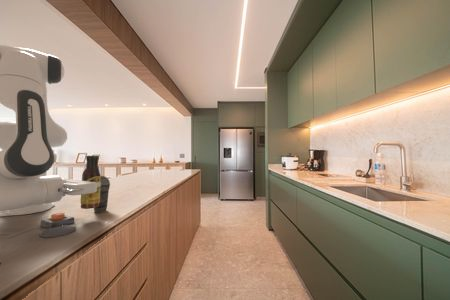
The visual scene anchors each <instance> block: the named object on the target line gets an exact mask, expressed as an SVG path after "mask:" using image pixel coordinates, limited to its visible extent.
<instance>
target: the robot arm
mask: <svg viewBox="0 0 450 300" xmlns="http://www.w3.org/2000/svg"><path fill="white" fill-rule="evenodd" d="M64 68H65V67H64V65H63V64H62V61H61V59H60V58H59V57H57V56H55V55H52V54H46V53H43V52H40V51H37V50H34V49H30V48H24V47H19V46H18V47H17V46H15V45H14V46H13V45H8V44H7V45H6V44H0V104H1V105H2V106H4V107H5V108H7V109H10V110H12V111H14V112H15V121H0V217H9V216H22V215H23V216H24V215H29V214H36V213H41V212H44V211H48V210H49V209H51V208H53V207H56V203H57V202H60V201H61V199H62V198H63V197H65V196H66V195H67V196H81V195H82V194H90V193H95V192H96V191H97V187H100V186H101V182H90V181H82V179H81V180H79V179H78V180H77V179H70V178H63V177H61V176H60V175H57V174H54V175H53V174H51V175H47V172H48V171H49V170H50V169H51V168H52V166H53V164H54V161H55V153H54V151H53V148H58V147H62V146H64V145H65V143H66V142H67V140H68V132H67V131H66V130H65V128H64V127H63V126H61V125H60V124H58V123H57V122H55V120H54V119H53V118H52V117H51V115H50V113H49V108H48V90H47V89H48V88H47V83H48V84H49V85H52V84H58V83H60V82H61V81H62V79H63V78H64V77H65V76H64V75H65V69H64ZM55 202H56V203H55Z"/></svg>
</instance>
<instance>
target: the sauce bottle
mask: <svg viewBox="0 0 450 300" xmlns="http://www.w3.org/2000/svg"><path fill="white" fill-rule="evenodd" d="M99 158H100V157H99V155H86V156H85V160H86V166H85V167H86V168H85V169H84V170H83V172H82V175H81V181H90V182H101V176H102V175H101V172H99V171H100V168H99V169H98V166H99V160H100V159H99ZM100 188H101V186H100V187H97V191H96V192H95V193H90V194H82V195H80V208H81V209H84V210H88V209H94V208H96V207H98V206H99V203H100Z"/></svg>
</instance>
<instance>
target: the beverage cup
mask: <svg viewBox="0 0 450 300" xmlns="http://www.w3.org/2000/svg"><path fill="white" fill-rule="evenodd" d="M98 169H99V172H100V165H98ZM100 173H101V172H100ZM100 176H101V188H100V203H99V206H98V207H96V208H93V211H94V213H95V214H103V213H105V212H107V207H108V203H109V201H108V200H109V193H110V192H109V190H110V186H111V183H110V180H109V178H108V177H107V176H105V175H100Z"/></svg>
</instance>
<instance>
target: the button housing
mask: <svg viewBox="0 0 450 300" xmlns="http://www.w3.org/2000/svg"><path fill="white" fill-rule="evenodd" d="M74 223H75V217H74V216H71V215H68V214H67V215H66V214H65V219H61V220H57V221H51V217H48V218H44V219H43V218H42V219H41V220H40V226H41V227H43V228H47V227H48V228H47V229H50V228H53V227H58V226H62V225H63V226H65V225H70V224H74Z"/></svg>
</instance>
